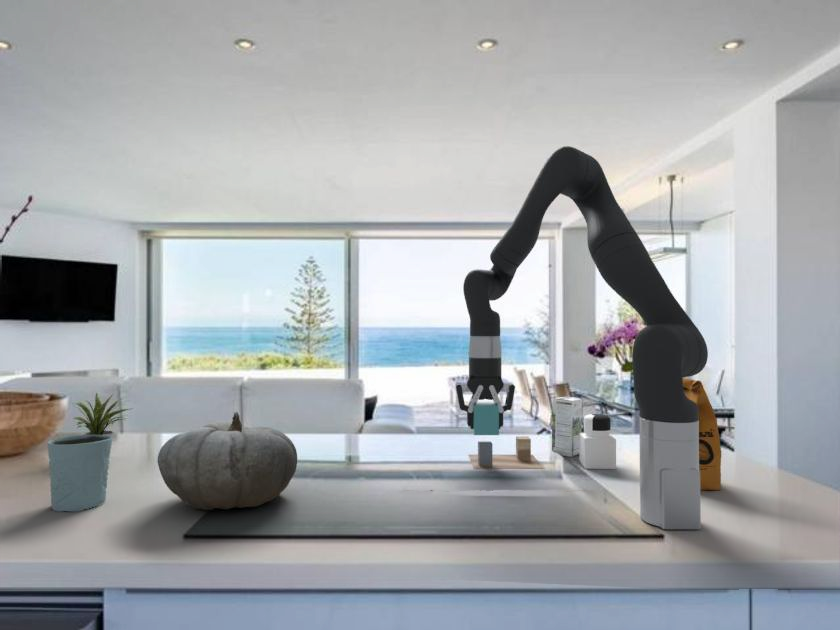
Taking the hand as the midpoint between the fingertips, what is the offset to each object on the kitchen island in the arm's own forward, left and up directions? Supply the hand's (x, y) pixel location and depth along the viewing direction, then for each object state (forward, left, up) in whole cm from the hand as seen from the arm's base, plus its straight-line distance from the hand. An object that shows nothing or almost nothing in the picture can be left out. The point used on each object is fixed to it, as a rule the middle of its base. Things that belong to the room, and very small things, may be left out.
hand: (485, 428), depth 130 cm
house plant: (+9, +95, -9) cm, 96 cm away
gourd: (-24, +51, -10) cm, 57 cm away
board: (+3, -5, -9) cm, 11 cm away
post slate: (0, 0, -8) cm, 8 cm away
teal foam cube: (0, 0, -1) cm, 1 cm away
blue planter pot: (-26, +78, -10) cm, 83 cm away
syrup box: (+15, -23, -10) cm, 29 cm away
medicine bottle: (+3, -27, -10) cm, 29 cm away
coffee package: (-12, -42, -10) cm, 45 cm away
